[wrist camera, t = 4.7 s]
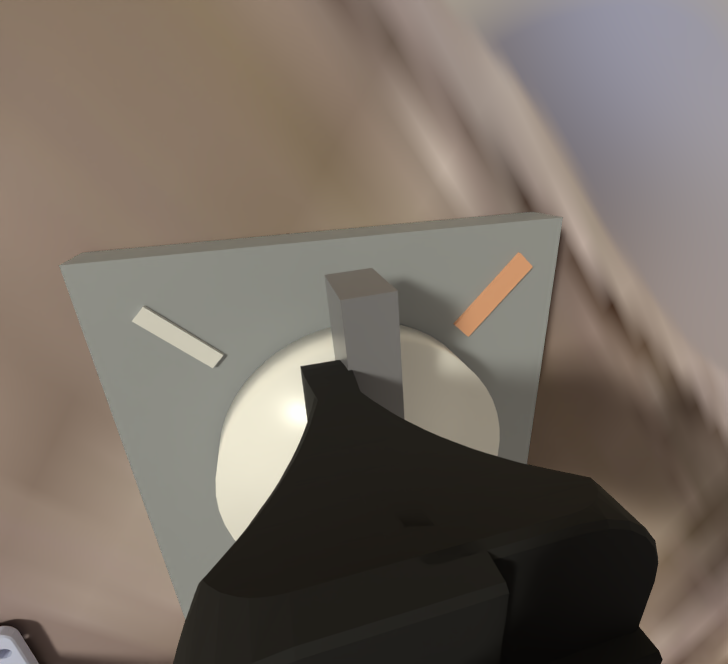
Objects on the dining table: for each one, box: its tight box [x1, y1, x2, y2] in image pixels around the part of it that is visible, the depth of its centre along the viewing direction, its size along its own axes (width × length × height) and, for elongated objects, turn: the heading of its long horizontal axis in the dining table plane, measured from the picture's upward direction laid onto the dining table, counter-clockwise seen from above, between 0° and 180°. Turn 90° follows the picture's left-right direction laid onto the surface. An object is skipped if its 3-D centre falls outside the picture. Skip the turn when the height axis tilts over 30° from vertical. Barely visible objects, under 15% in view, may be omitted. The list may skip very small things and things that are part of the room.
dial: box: [216, 268, 500, 541], centre depth 12 cm, size 11×9×4 cm
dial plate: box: [59, 212, 563, 620], centre depth 15 cm, size 14×14×2 cm
